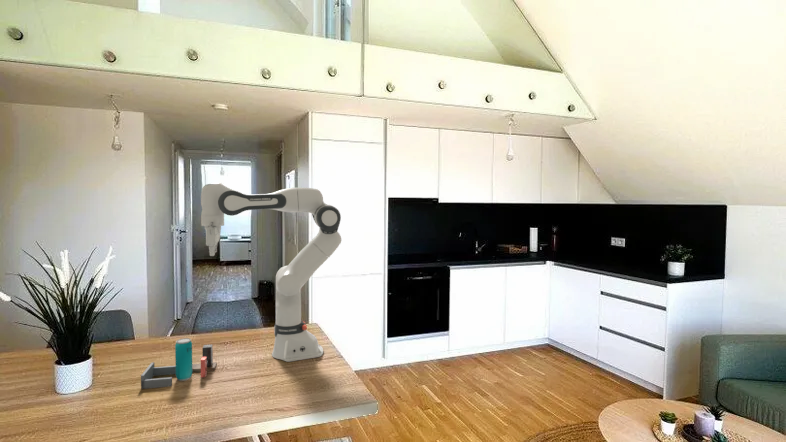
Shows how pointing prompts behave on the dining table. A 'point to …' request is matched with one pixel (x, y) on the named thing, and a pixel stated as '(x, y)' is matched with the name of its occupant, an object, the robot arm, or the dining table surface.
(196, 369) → the brown long flat block
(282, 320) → the robot arm
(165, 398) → the dining table surface
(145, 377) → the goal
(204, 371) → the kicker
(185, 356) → the beverage can
